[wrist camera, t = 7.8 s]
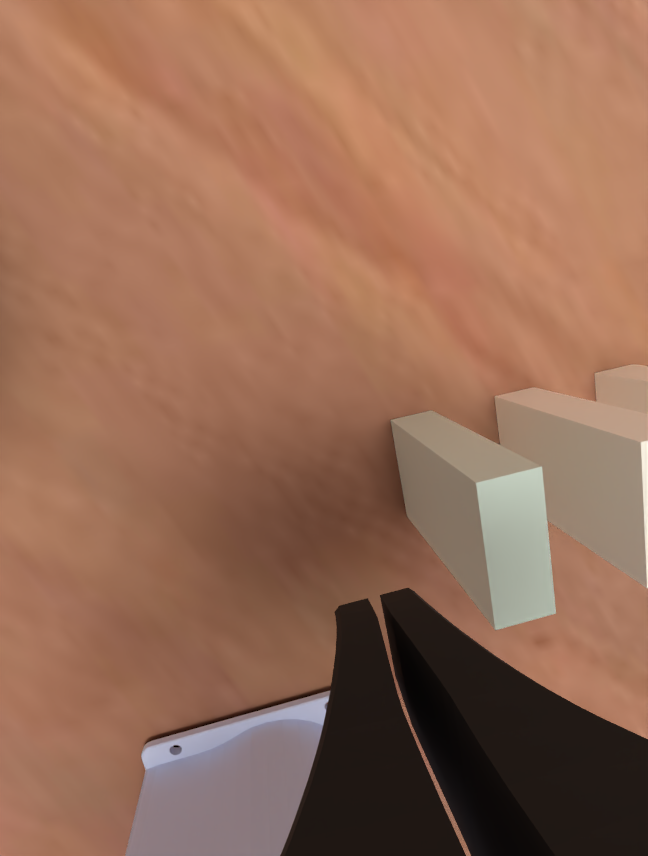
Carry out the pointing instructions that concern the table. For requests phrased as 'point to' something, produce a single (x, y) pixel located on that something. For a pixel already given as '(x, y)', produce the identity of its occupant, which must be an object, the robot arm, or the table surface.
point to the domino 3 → (623, 387)
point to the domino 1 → (478, 515)
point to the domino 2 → (586, 469)
